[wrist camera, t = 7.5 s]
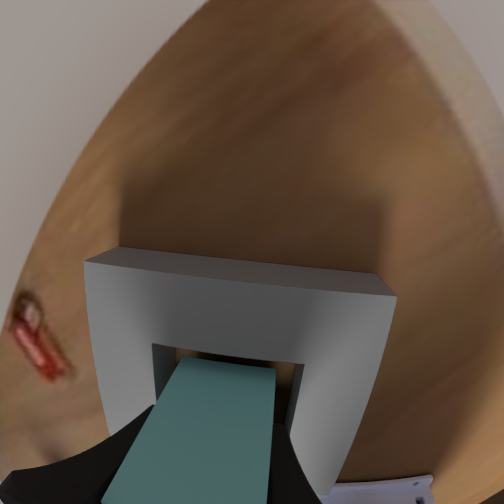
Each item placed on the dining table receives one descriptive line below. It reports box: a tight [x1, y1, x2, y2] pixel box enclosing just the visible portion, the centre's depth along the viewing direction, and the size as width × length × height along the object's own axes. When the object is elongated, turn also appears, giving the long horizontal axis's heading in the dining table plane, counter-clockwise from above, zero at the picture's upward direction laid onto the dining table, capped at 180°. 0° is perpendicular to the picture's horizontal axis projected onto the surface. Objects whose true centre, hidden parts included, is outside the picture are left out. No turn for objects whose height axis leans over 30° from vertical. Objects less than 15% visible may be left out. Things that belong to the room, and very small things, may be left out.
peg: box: [101, 356, 276, 504], centre depth 9 cm, size 4×4×8 cm
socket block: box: [84, 247, 398, 495], centre depth 14 cm, size 12×12×3 cm
